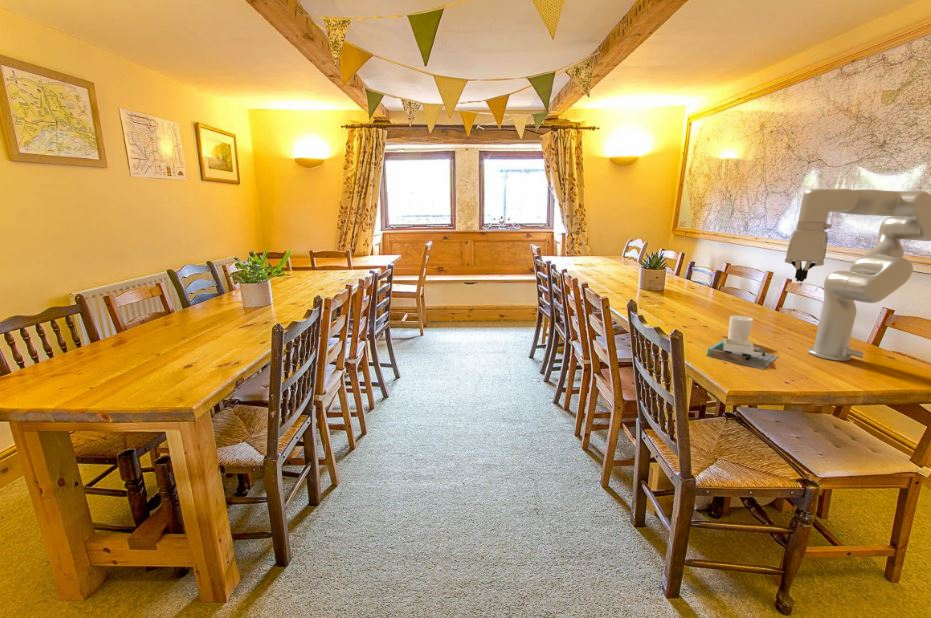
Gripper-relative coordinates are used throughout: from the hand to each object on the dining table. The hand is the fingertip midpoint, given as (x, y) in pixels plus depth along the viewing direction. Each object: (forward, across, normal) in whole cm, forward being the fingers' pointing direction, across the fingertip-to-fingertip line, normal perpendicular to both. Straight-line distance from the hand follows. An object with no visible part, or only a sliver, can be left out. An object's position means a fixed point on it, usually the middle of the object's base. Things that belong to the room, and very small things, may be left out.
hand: (800, 280), depth 148 cm
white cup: (+29, +18, -10) cm, 36 cm away
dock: (+29, +11, +8) cm, 32 cm away
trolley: (+28, +11, +11) cm, 32 cm away
